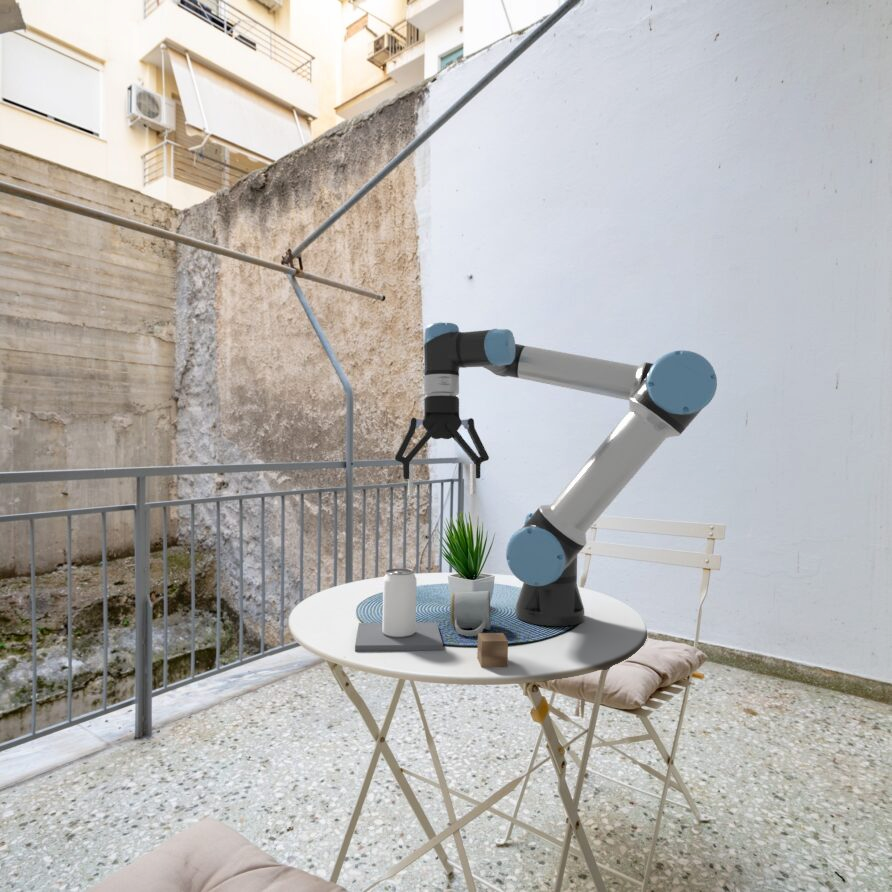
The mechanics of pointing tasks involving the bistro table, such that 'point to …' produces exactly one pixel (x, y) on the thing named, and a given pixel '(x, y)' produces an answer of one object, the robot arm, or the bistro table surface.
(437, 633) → the mat
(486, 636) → the walnut block
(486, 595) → the ceramic mug
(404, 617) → the can
